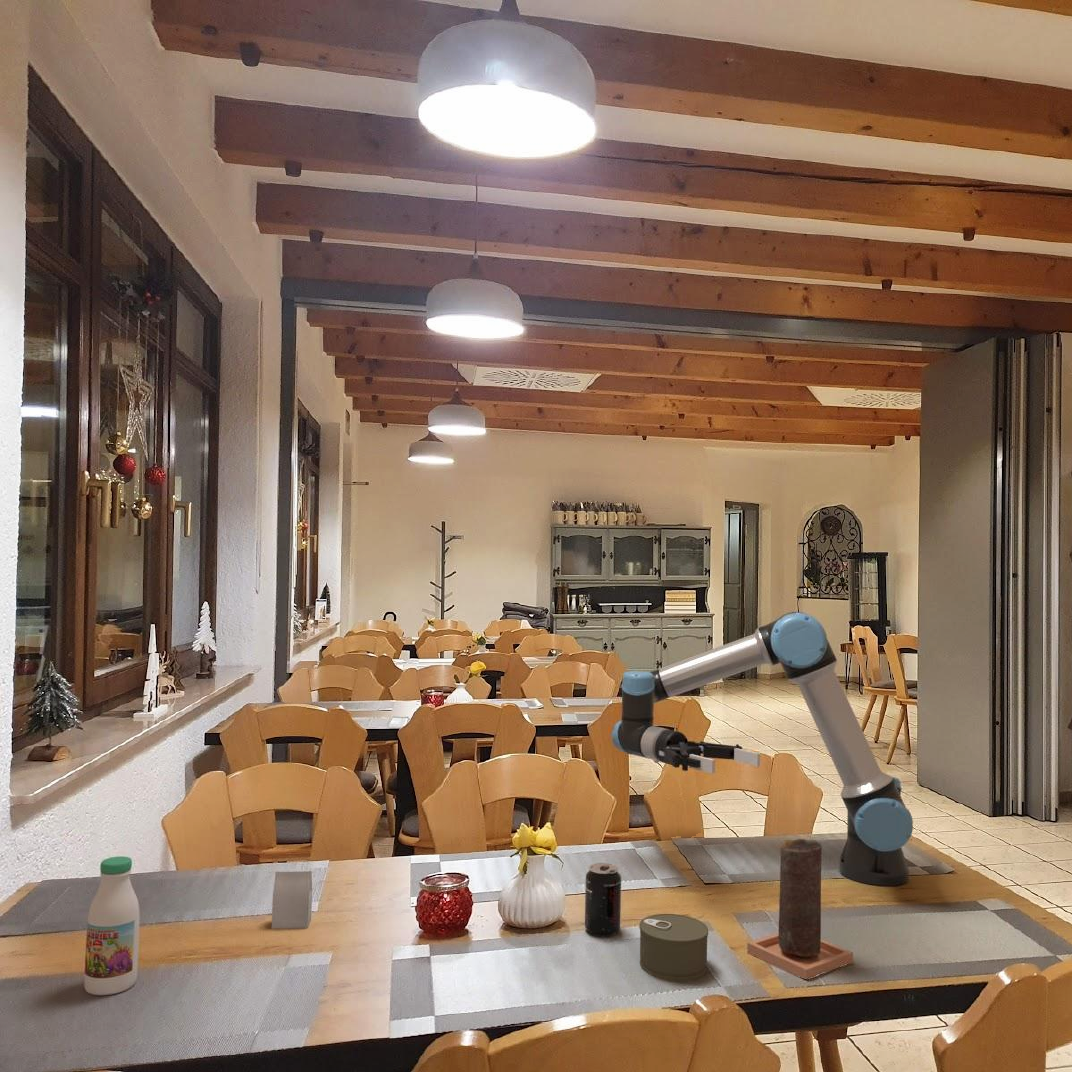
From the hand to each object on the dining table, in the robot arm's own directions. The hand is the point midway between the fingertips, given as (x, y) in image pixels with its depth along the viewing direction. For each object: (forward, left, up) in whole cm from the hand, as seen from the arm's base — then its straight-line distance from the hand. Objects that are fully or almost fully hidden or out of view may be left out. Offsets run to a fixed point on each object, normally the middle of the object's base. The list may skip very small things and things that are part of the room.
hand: (736, 763), depth 181 cm
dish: (+7, +22, -30) cm, 38 cm away
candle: (+7, +22, -30) cm, 37 cm away
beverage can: (+30, -6, -30) cm, 43 cm away
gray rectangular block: (+79, -40, -30) cm, 94 cm away
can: (+29, +12, -30) cm, 44 cm away
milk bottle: (+112, -31, -30) cm, 120 cm away
